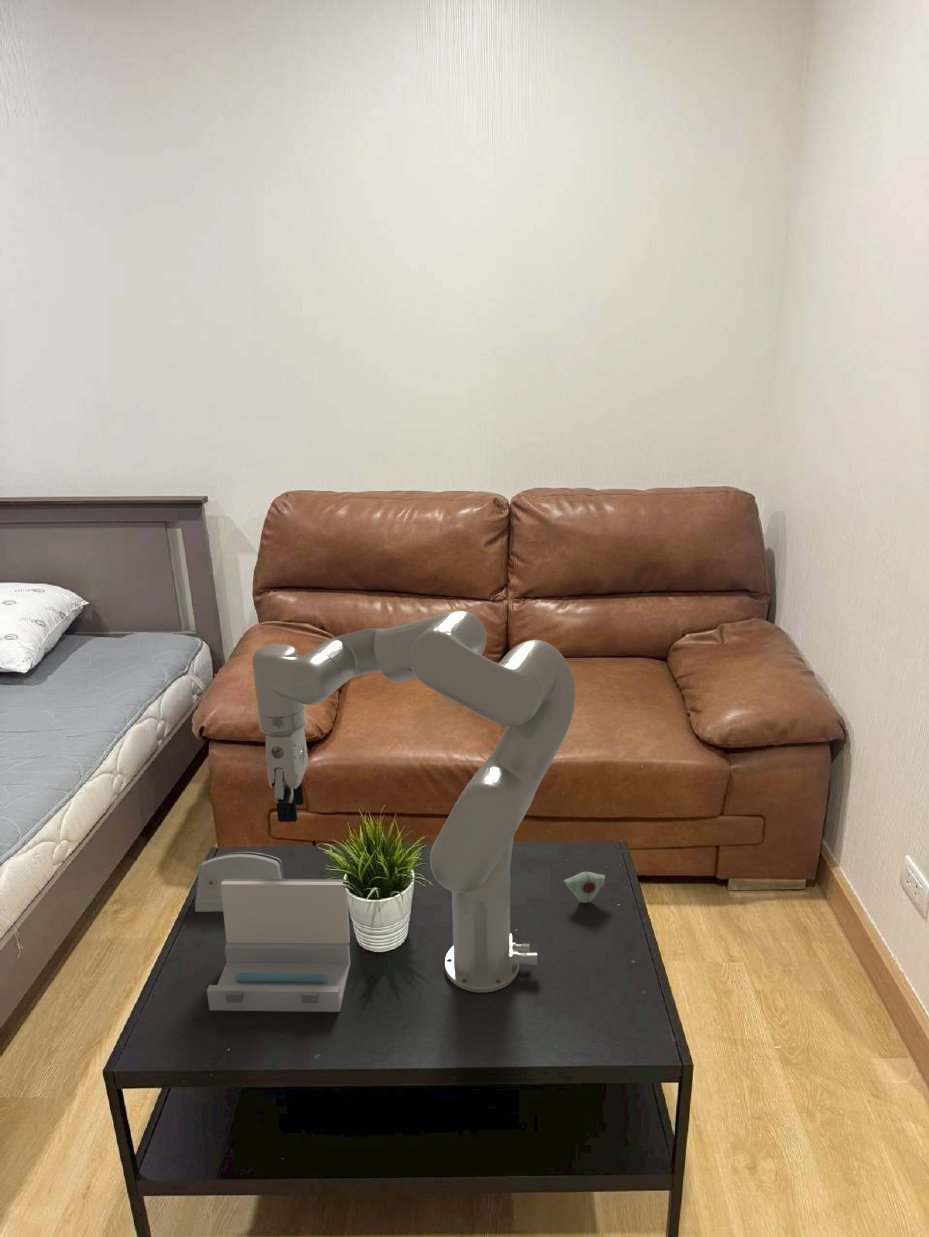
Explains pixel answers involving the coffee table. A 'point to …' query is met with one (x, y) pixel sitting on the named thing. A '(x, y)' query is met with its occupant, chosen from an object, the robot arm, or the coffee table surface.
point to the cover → (285, 911)
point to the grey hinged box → (281, 994)
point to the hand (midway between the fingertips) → (291, 811)
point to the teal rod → (281, 977)
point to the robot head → (585, 885)
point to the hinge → (232, 875)
